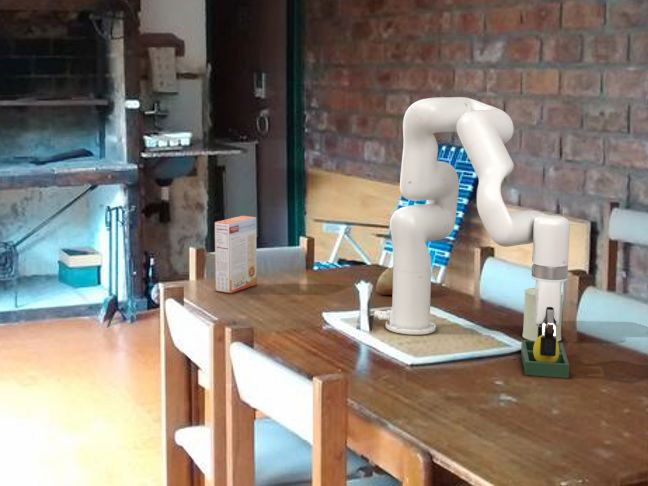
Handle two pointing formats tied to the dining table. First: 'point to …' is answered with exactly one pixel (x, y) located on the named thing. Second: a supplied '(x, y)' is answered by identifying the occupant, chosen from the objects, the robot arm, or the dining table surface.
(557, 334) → the can
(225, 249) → the cracker box
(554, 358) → the lemon
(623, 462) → the dining table surface
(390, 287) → the bread roll
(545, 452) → the dining table surface
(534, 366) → the holder
